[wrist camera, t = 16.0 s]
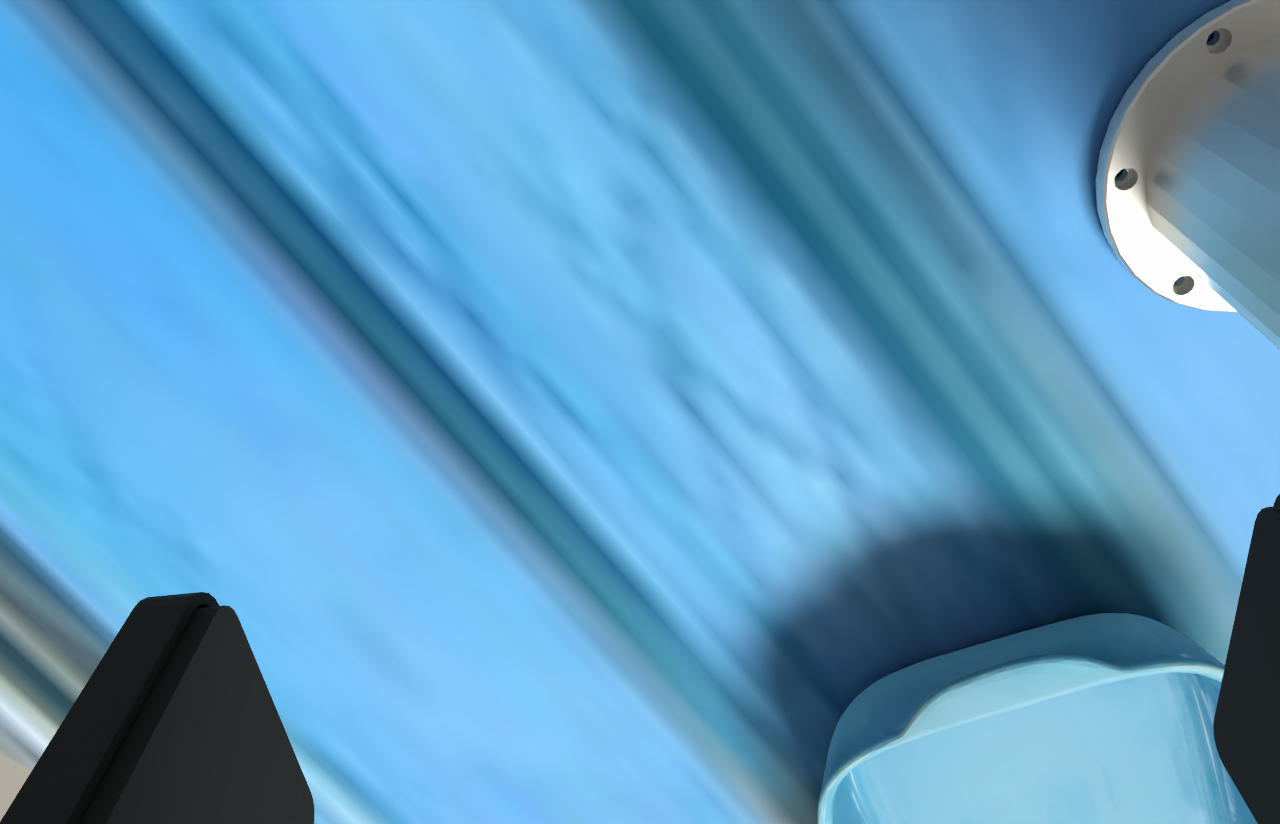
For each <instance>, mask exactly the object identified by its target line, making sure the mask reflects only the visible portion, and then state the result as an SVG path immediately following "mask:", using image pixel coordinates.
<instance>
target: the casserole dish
mask: <svg viewBox="0 0 1280 824" xmlns="http://www.w3.org/2000/svg"><path fill="white" fill-rule="evenodd" d="M1224 669H1225V666H1224V665H1223V664H1222V663H1220V662H1219V661H1218V660H1216V659H1215V658H1214V657H1213V656H1211V655H1210V654H1209V653H1207V652H1206V651H1205V650H1204V649H1202V648H1201V647H1200V646H1198V645H1197V644H1195V643H1194V642H1192V641H1191V640H1190V639H1188V638H1187V637H1185V636H1184V635H1182V634H1181V633H1179V632H1178V631H1176V630H1174V629H1172V628H1170V627H1168V626H1166V625H1164V624H1162V623H1160V622H1158V621H1155V620H1153V619H1150V618H1147V617H1144V616H1140V615H1134V614H1128V613H1100V614H1093V615H1085V616H1081V617H1076V618H1072V619H1068V620H1063V621H1060V622H1056V623H1052V624H1049V625H1045V626H1041V627H1038V628H1034V629H1030V630H1027V631H1023V632H1019V633H1016V634H1012V635H1009V636H1005V637H1002V638H998V639H995V640H991V641H988V642H985V643H981V644H978V645H974V646H971V647H967V648H964V649H961V650H957V651H954V652H951V653H947V654H944V655H941V656H937V657H934V658H931V659H927V660H924V661H921V662H919V663H916V664H913V665H911V666H908V667H906V668H903V669H901V670H899V671H896V672H894V673H891V674H889V675H887V676H885V677H883V678H881V679H879V680H878V681H876V682H874V683H873V684H871V685H870V686H869V687H867V688H866V689H865V690H863V691H862V692H861V693H860V694H859V695H858V696H857V697H856V698H855V699H854V700H853V701H852V702H851V704H850V705H849V706H848V707H847V708H846V710H845V711H844V713H843V714H842V716H841V718H840V719H839V721H838V723H837V726H836V728H835V731H834V733H833V736H832V740H831V743H830V747H829V751H828V755H827V761H826V766H825V772H824V777H823V783H822V788H821V792H820V797H819V801H818V808H817V818H818V824H1258V823H1257V822H1256V820H1255V818H1254V817H1253V815H1252V813H1251V811H1250V810H1249V808H1248V806H1247V805H1246V803H1245V801H1244V800H1243V798H1242V796H1241V794H1240V793H1239V791H1238V789H1237V788H1236V786H1235V784H1234V782H1233V781H1232V779H1231V777H1230V776H1229V774H1228V772H1227V770H1226V769H1225V767H1224V765H1223V763H1222V761H1221V759H1220V757H1219V754H1218V751H1217V748H1216V744H1215V740H1214V731H1213V724H1214V716H1215V712H1216V707H1217V702H1218V697H1219V692H1220V688H1221V683H1222V678H1223V673H1224Z"/></svg>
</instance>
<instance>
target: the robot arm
mask: <svg viewBox="0 0 1280 824" xmlns="http://www.w3.org/2000/svg"><path fill="white" fill-rule="evenodd" d="M1213 31H1214V36H1213V39H1212V40H1211V41H1210V42H1207V39H1208V37H1209V35H1210V34H1211V33H1212V32H1213ZM1206 42H1207V43H1206ZM1121 170H1123V172H1122V174H1121V175H1120V176H1119V177H1116V178H1115V176H1116V174H1117V173H1118V172H1120V171H1121ZM1096 199H1097V211H1098V215H1099V218H1100V222H1101V225H1102V229H1103V232H1104V236H1105V237H1106V239H1107V241H1108V243H1109V245H1110V246H1111V248H1112V250H1113V252H1114V253H1115V255H1116V257H1117V258H1118V259H1119V261H1120V262H1121V263H1122V264H1123V265H1124V266H1125V267H1126V268H1127V269H1128V270H1129V272H1130V273H1131V274H1132V275H1133V276H1134V277H1135V278H1137V279H1138V280H1139V281H1140V282H1141V283H1143V284H1144V285H1145V286H1146V287H1147V288H1149V289H1150V290H1151V291H1152V292H1154V293H1156V294H1158V295H1159V296H1161V297H1163V298H1165V299H1167V300H1169V301H1171V302H1173V303H1176V304H1179V305H1183V306H1187V307H1191V308H1195V309H1199V310H1203V311H1218V312H1238V313H1239V314H1240V315H1241V316H1242V317H1244V318H1245V319H1246V320H1247V321H1248V322H1249V323H1250V324H1251V325H1252V326H1254V327H1255V328H1256V329H1257V330H1258V331H1259V332H1260V333H1261V334H1262V335H1264V336H1265V337H1266V338H1267V339H1268V340H1269V341H1270V342H1271V343H1273V344H1274V345H1275V346H1276V347H1277V348H1278V349H1279V350H1280V0H1231V1H1229V2H1227V3H1225V4H1223V5H1221V6H1219V7H1217V8H1215V9H1213V10H1211V11H1209V12H1207V13H1206V14H1204V15H1203V16H1202V17H1200V18H1199V19H1197V20H1196V21H1195V22H1193V23H1192V24H1190V25H1189V26H1188V27H1186V28H1185V29H1183V30H1182V31H1181V32H1179V33H1178V34H1176V35H1175V36H1174V37H1173V38H1172V39H1171V40H1170V41H1169V42H1168V43H1167V44H1166V45H1165V46H1164V47H1163V48H1162V49H1161V50H1160V51H1159V52H1158V53H1157V54H1156V55H1155V56H1154V57H1153V58H1152V59H1150V60H1149V62H1148V63H1147V64H1146V66H1145V67H1144V68H1143V69H1142V71H1141V72H1140V73H1139V75H1138V76H1137V77H1136V79H1135V80H1134V81H1133V83H1132V84H1131V85H1130V87H1129V88H1128V89H1127V91H1126V92H1125V94H1124V96H1123V98H1122V100H1121V102H1120V104H1119V105H1118V107H1117V109H1116V111H1115V113H1114V115H1113V117H1112V118H1111V120H1110V123H1109V126H1108V129H1107V132H1106V135H1105V138H1104V141H1103V144H1102V147H1101V150H1100V154H1099V161H1098V168H1097V175H1096ZM1176 279H1177V280H1176ZM1175 280H1176V281H1175ZM1213 731H1214V740H1215V744H1216V748H1217V751H1218V754H1219V757H1220V759H1221V761H1222V763H1223V765H1224V767H1225V769H1226V770H1227V772H1228V774H1229V776H1230V777H1231V779H1232V781H1233V782H1234V784H1235V786H1236V788H1237V789H1238V791H1239V793H1240V794H1241V796H1242V798H1243V800H1244V801H1245V803H1246V805H1247V806H1248V808H1249V810H1250V811H1251V813H1252V815H1253V817H1254V818H1255V820H1256V822H1257V823H1258V824H1280V494H1279V496H1278V497H1277V498H1276V500H1275V503H1274V506H1273V507H1267V508H1264V509H1262V510H1261V511H1260V512H1259V513H1258V515H1257V518H1256V521H1255V525H1254V530H1253V534H1252V539H1251V544H1250V549H1249V553H1248V558H1247V563H1246V568H1245V573H1244V577H1243V582H1242V587H1241V592H1240V597H1239V601H1238V606H1237V611H1236V616H1235V621H1234V625H1233V630H1232V635H1231V640H1230V645H1229V649H1228V654H1227V659H1226V664H1225V669H1224V673H1223V678H1222V683H1221V688H1220V692H1219V697H1218V702H1217V707H1216V712H1215V716H1214V724H1213ZM0 824H314V804H313V798H312V795H311V792H310V789H309V787H308V784H307V782H306V780H305V777H304V775H303V772H302V770H301V768H300V765H299V763H298V760H297V758H296V756H295V753H294V751H293V748H292V746H291V744H290V741H289V739H288V736H287V734H286V732H285V729H284V727H283V724H282V722H281V720H280V717H279V715H278V712H277V710H276V708H275V705H274V703H273V700H272V698H271V696H270V693H269V691H268V688H267V686H266V684H265V681H264V679H263V676H262V674H261V672H260V669H259V667H258V664H257V662H256V660H255V657H254V655H253V652H252V650H251V648H250V645H249V643H248V640H247V638H246V635H245V633H244V631H243V628H242V626H241V623H240V621H239V619H238V616H237V615H236V613H235V611H234V610H233V609H232V608H231V607H230V606H219V604H218V603H217V601H216V599H215V598H214V597H213V596H211V595H210V594H209V593H204V592H199V593H189V594H178V595H168V596H157V597H147V598H145V599H143V600H141V601H140V602H139V603H138V604H137V605H136V606H135V607H134V609H133V610H132V612H131V613H130V615H129V617H128V618H127V620H126V621H125V623H124V625H123V626H122V628H121V629H120V631H119V633H118V634H117V636H116V637H115V639H114V641H113V642H112V644H111V645H110V647H109V649H108V650H107V652H106V653H105V655H104V657H103V658H102V660H101V661H100V663H99V665H98V666H97V668H96V669H95V671H94V673H93V674H92V676H91V677H90V679H89V681H88V682H87V684H86V685H85V687H84V689H83V690H82V692H81V693H80V695H79V697H78V698H77V700H76V701H75V703H74V705H73V706H72V708H71V709H70V711H69V713H68V714H67V716H66V717H65V719H64V721H63V722H62V724H61V725H60V727H59V729H58V730H57V732H56V733H55V735H54V737H53V738H52V740H51V741H50V743H49V745H48V746H47V748H46V749H45V751H44V753H43V754H42V756H41V758H40V759H39V761H38V762H37V764H36V766H35V767H34V769H33V770H32V772H31V774H30V775H29V777H28V778H27V780H26V782H25V783H24V785H23V786H22V788H21V790H20V791H19V793H18V794H17V796H16V798H15V799H14V801H13V802H12V804H11V806H10V807H9V809H8V811H7V812H6V814H5V815H4V817H3V818H2V820H1V822H0Z"/></svg>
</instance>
